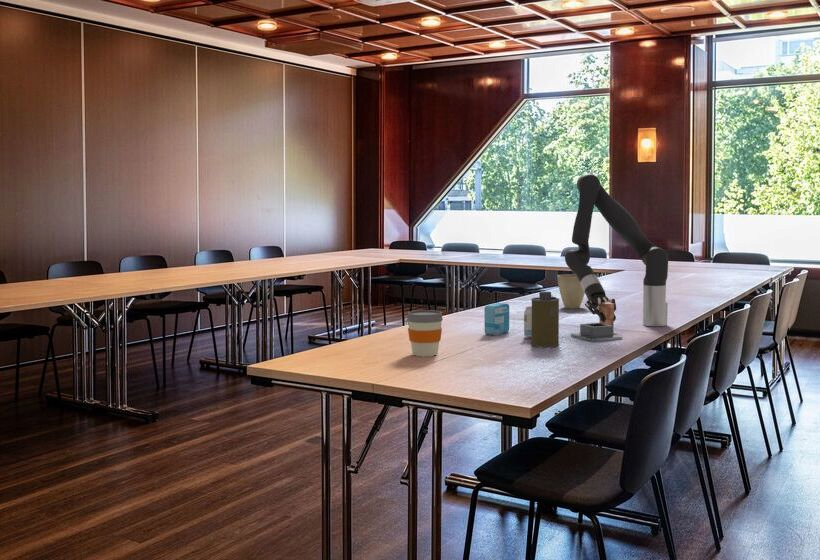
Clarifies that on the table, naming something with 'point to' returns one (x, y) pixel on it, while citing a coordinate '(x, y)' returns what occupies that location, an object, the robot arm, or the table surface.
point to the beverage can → (528, 322)
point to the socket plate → (596, 332)
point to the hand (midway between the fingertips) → (609, 320)
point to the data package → (496, 318)
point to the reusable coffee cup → (424, 331)
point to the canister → (545, 320)
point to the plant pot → (570, 290)
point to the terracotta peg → (608, 313)
